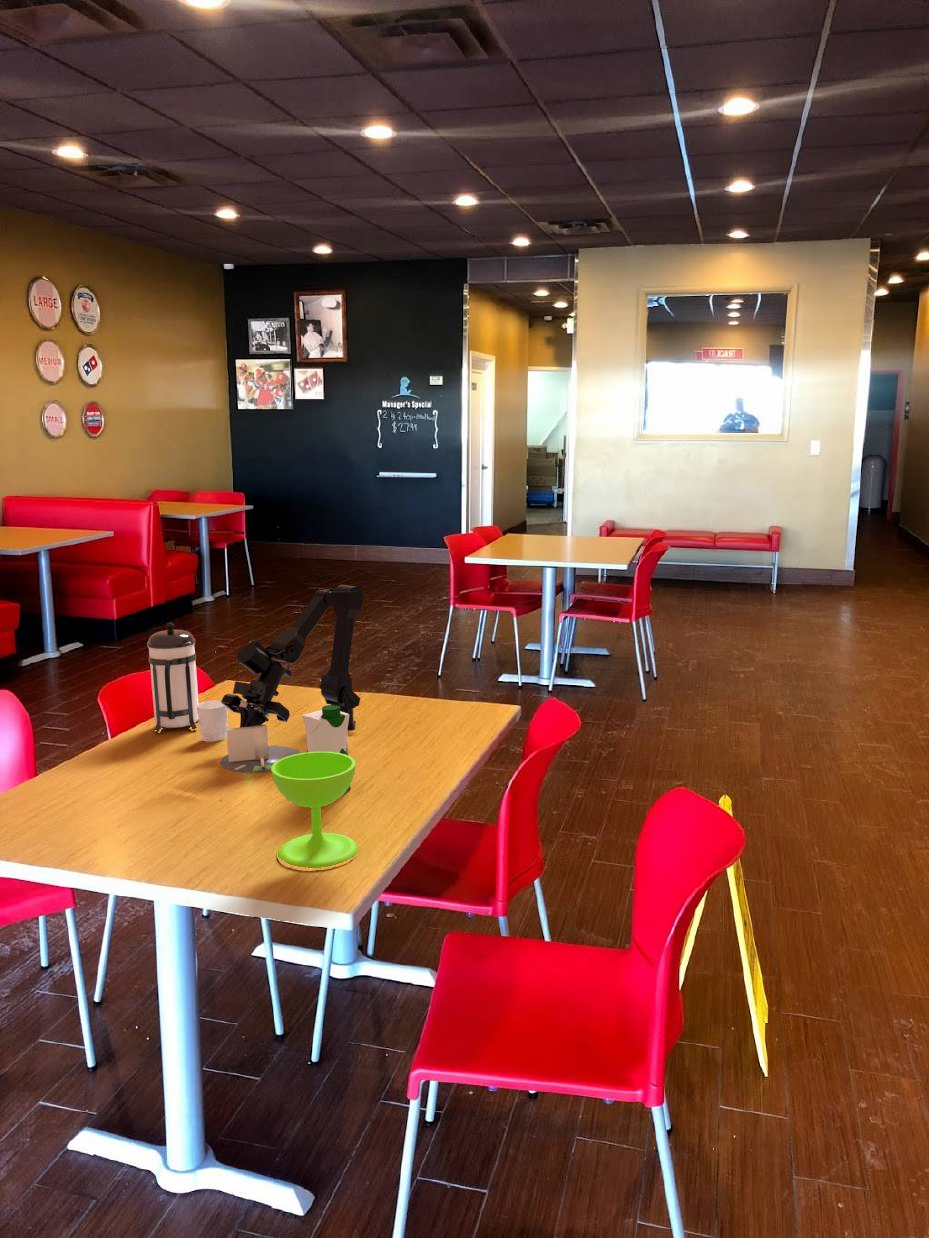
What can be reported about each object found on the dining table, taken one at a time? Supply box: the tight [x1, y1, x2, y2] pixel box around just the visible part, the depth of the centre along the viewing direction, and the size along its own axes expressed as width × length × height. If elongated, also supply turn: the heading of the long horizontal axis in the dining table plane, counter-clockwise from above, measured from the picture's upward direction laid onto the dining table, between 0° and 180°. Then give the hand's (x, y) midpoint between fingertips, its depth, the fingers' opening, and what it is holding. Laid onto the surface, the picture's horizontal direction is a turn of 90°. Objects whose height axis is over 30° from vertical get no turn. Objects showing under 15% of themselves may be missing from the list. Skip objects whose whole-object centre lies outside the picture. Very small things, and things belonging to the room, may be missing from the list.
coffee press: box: [146, 622, 199, 731], centre depth 265 cm, size 17×16×30 cm
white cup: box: [197, 699, 229, 742], centre depth 256 cm, size 8×8×10 cm
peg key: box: [226, 724, 269, 770], centre depth 233 cm, size 10×12×8 cm
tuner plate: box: [219, 745, 302, 774], centre depth 239 cm, size 20×20×1 cm
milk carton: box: [301, 704, 352, 791], centre depth 218 cm, size 9×9×20 cm
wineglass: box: [270, 751, 359, 868], centre depth 185 cm, size 16×16×18 cm
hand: (240, 737), depth 238 cm, fingers closed
